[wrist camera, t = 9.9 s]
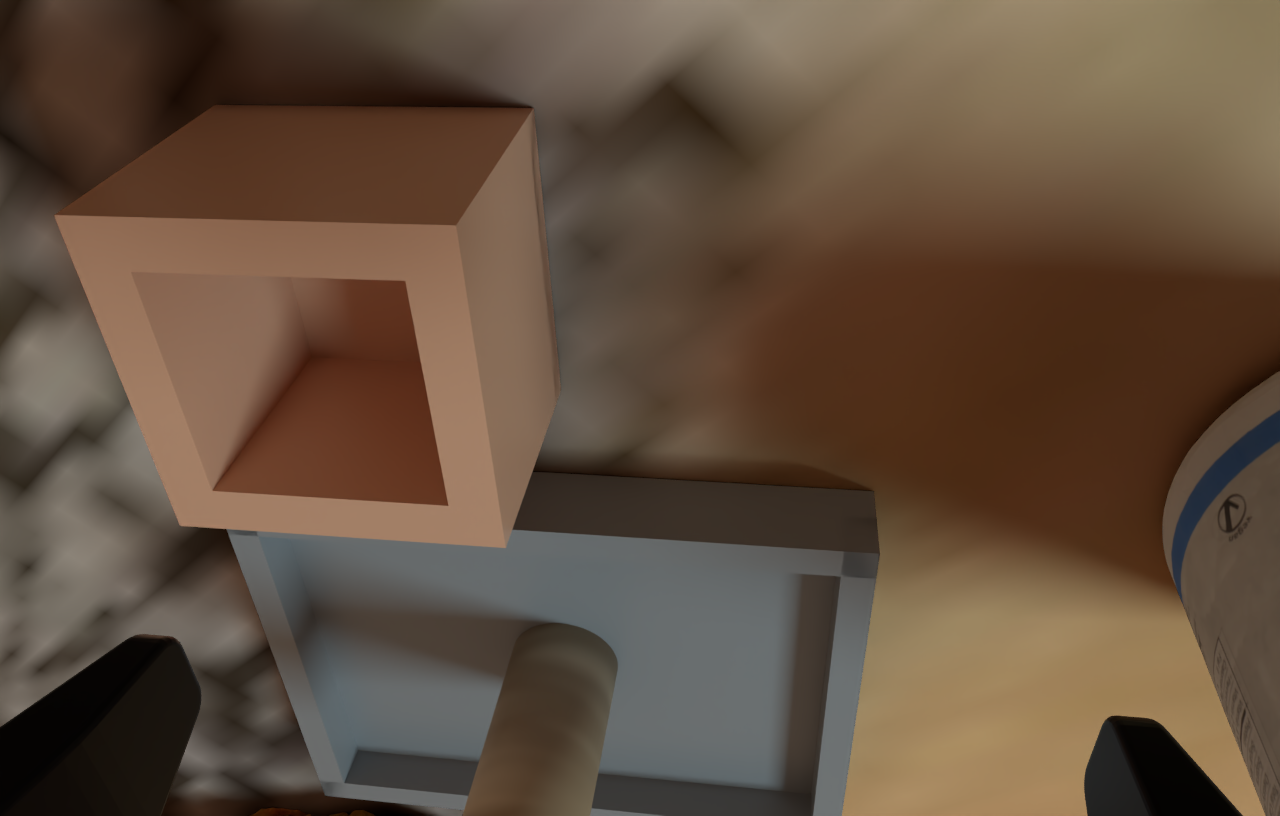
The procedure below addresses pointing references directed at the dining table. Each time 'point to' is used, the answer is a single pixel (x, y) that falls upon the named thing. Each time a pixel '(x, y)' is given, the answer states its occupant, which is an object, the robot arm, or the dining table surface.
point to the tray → (610, 608)
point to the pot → (332, 316)
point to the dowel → (547, 726)
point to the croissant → (302, 813)
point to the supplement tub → (1235, 571)
